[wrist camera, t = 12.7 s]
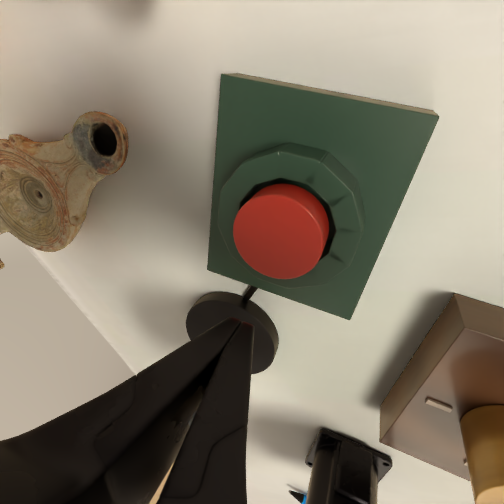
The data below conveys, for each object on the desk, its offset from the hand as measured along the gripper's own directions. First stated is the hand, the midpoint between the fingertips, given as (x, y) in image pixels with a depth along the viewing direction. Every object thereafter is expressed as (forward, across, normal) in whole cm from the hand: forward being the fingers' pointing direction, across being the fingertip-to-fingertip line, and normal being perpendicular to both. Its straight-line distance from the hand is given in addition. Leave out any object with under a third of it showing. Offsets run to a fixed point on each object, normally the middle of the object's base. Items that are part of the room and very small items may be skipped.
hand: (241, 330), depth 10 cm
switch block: (+11, +1, 0) cm, 11 cm away
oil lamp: (+11, +20, +4) cm, 23 cm away
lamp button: (+7, +1, 0) cm, 8 cm away
